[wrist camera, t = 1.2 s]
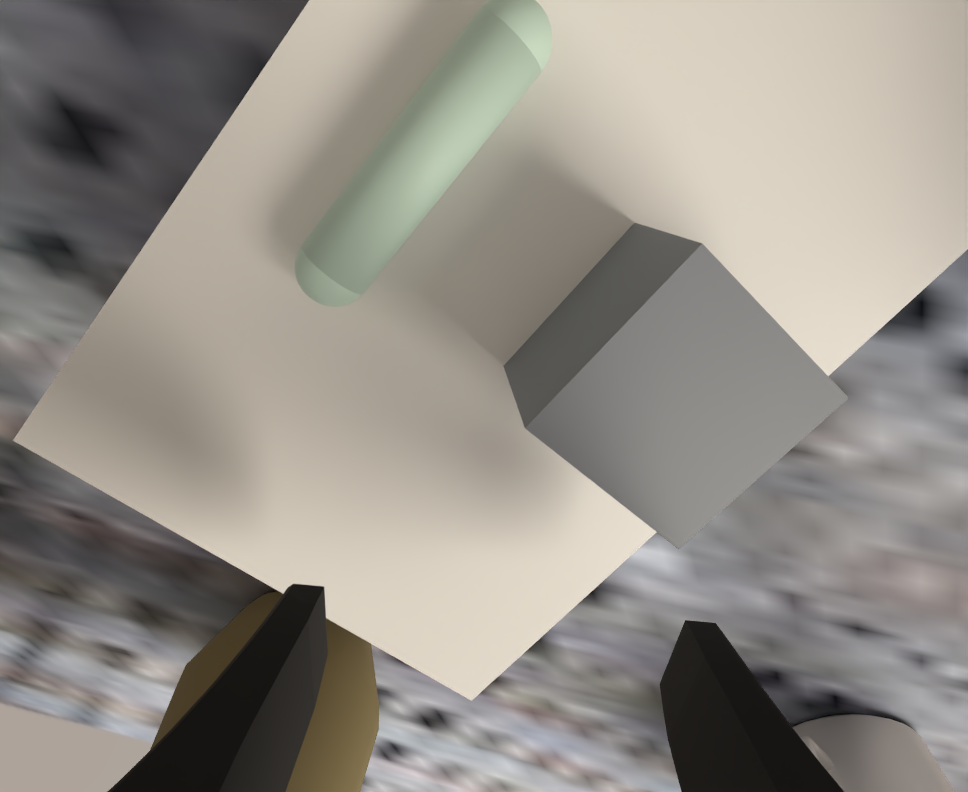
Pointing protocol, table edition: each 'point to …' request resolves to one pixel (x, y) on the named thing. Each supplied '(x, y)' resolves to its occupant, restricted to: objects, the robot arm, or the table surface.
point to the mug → (873, 754)
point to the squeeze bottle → (338, 711)
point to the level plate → (515, 294)
